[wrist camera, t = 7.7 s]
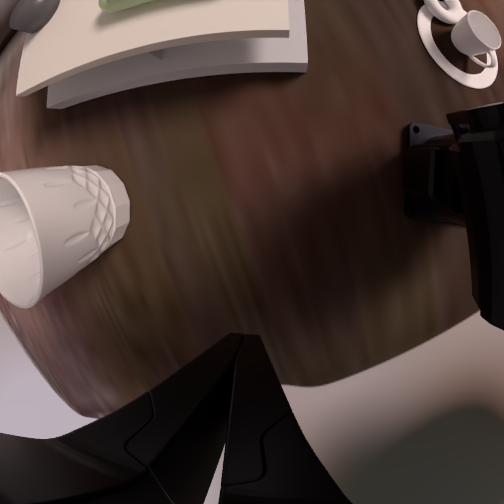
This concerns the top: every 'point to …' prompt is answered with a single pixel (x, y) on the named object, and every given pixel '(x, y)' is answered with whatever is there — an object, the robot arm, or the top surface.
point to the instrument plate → (129, 31)
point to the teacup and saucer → (462, 39)
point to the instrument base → (189, 63)
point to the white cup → (55, 226)
